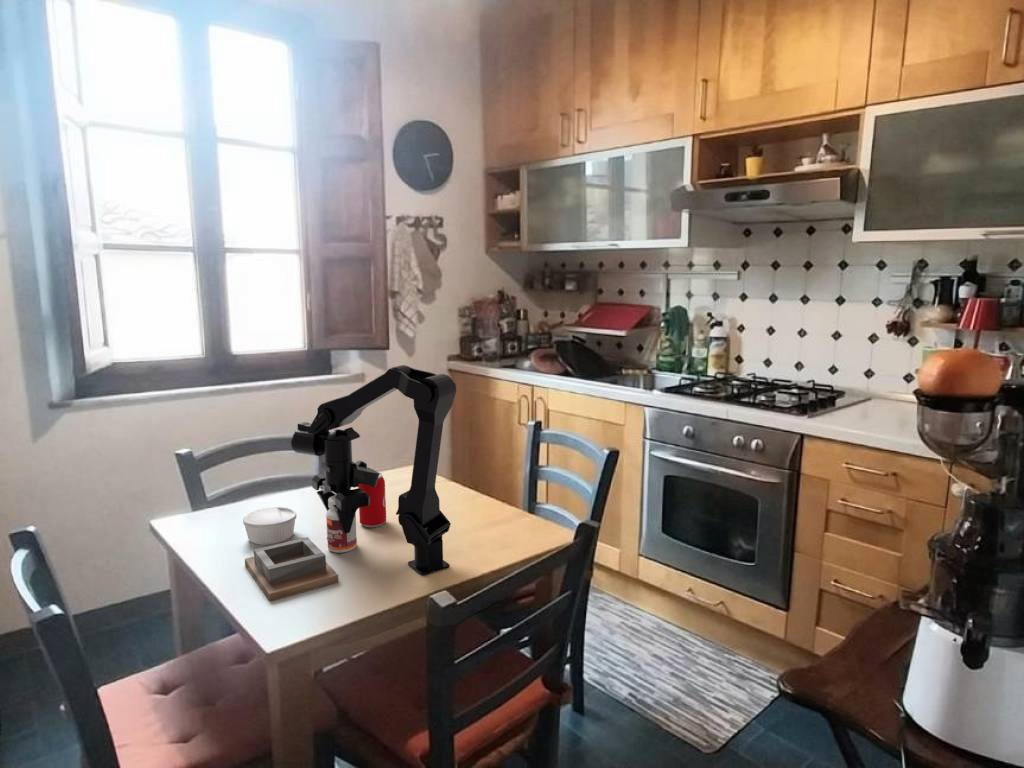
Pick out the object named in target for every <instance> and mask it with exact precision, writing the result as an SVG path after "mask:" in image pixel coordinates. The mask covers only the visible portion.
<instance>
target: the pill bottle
mask: <svg viewBox="0 0 1024 768" xmlns="http://www.w3.org/2000/svg"><path fill="white" fill-rule="evenodd" d="M335 497H336V495H335V496H332V497H330V498H329V499H328V507H329V508H330V509H329V510H328V511H327V510H326V516H325V518H326V536H327V537H326V538H327V549H328V550H329V551H330V552H332V553H335V554H336V553H338V554H342V553H343V554H344V553H347V552H350V551H353V550H354V549H356V547H357V546H358V545H357V543H358V542H357V539H358V538H357V518H356V517H357V515H356V513H357V512H356V513H355V516H354V519H353V523H352V527H351V530H350V532H349V533H344V531H343V528H342V526H341V524H340V521H339V519H338V516H337V514H336V512H335V509H334V507H333V505H336V503H335Z"/></svg>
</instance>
